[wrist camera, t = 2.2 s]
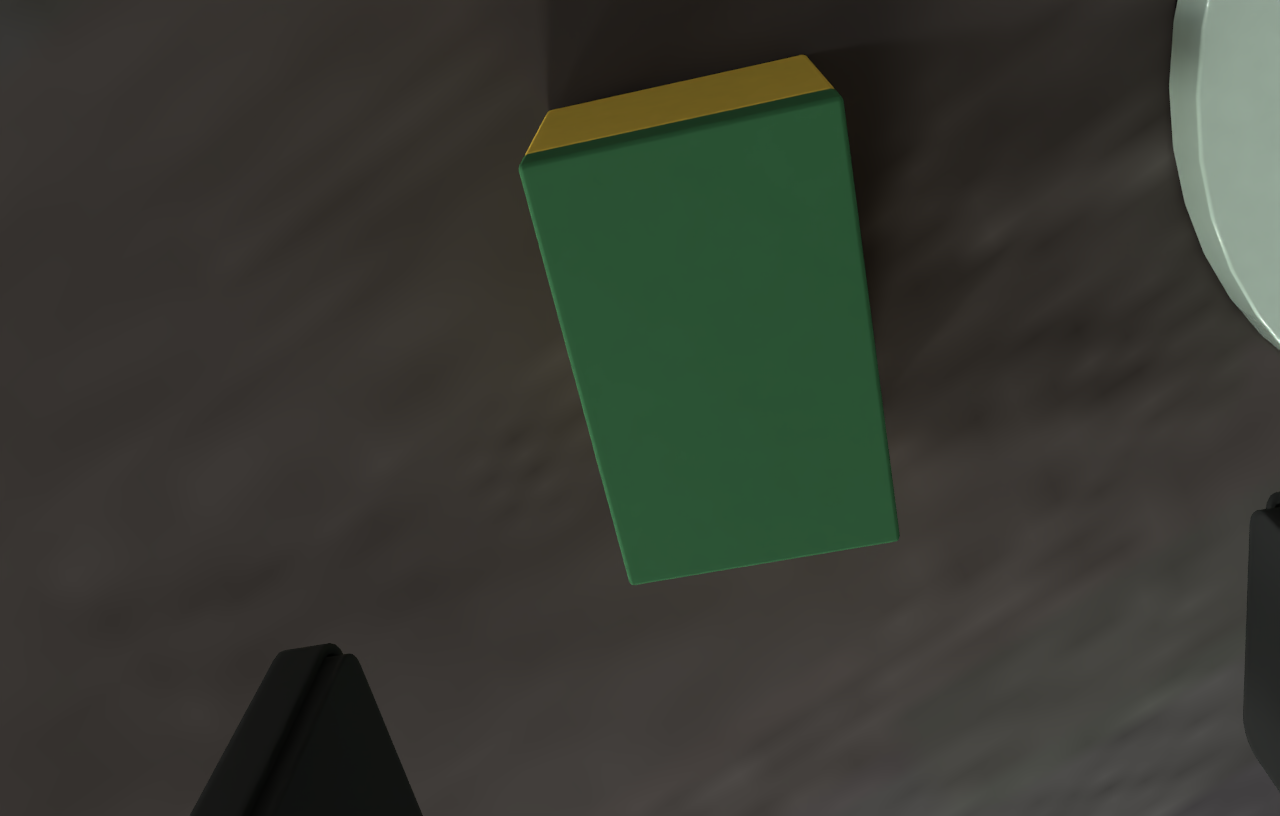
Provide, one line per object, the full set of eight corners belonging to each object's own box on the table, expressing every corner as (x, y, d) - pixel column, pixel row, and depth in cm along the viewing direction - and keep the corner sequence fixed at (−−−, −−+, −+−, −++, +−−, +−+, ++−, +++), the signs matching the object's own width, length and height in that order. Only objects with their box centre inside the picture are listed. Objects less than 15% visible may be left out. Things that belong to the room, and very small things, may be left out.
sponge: (546, 110, 20) (516, 166, 16) (806, 53, 19) (843, 95, 15) (635, 467, 23) (630, 587, 19) (859, 427, 23) (901, 542, 19)
